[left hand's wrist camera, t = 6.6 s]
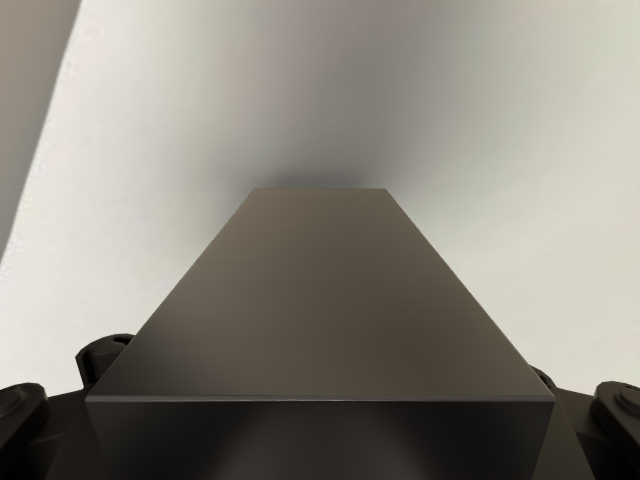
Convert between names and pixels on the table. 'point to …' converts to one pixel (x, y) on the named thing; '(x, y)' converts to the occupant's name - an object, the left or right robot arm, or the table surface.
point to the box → (320, 359)
